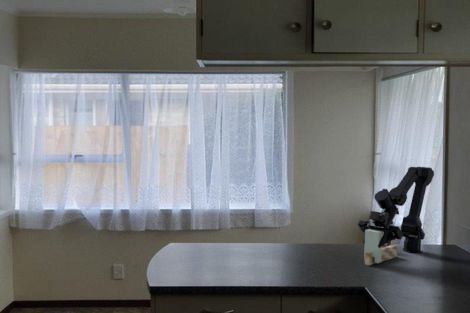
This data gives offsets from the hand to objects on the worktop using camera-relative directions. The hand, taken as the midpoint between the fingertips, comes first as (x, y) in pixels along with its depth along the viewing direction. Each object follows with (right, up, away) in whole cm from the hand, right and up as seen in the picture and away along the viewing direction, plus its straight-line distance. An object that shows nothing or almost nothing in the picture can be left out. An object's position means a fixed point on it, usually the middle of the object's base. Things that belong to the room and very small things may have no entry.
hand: (371, 245), depth 206 cm
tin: (+10, -6, +26) cm, 29 cm away
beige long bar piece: (+6, -7, +6) cm, 11 cm away
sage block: (+1, -7, +1) cm, 7 cm away
